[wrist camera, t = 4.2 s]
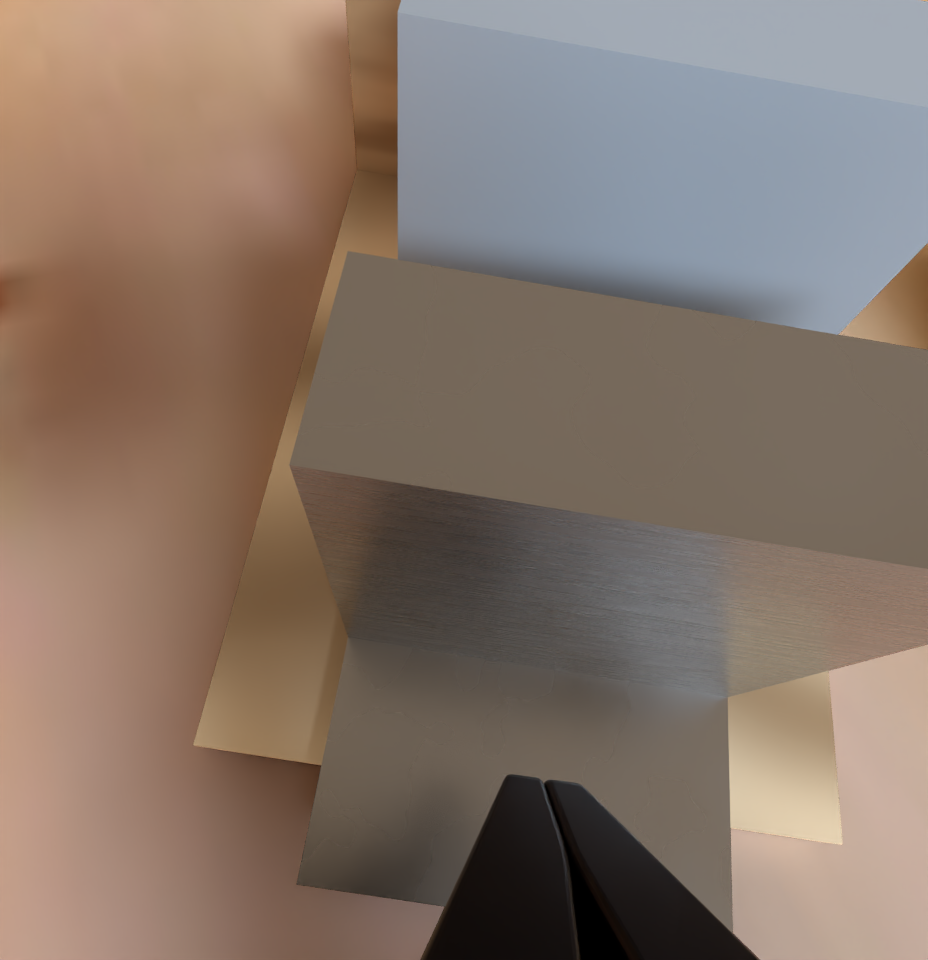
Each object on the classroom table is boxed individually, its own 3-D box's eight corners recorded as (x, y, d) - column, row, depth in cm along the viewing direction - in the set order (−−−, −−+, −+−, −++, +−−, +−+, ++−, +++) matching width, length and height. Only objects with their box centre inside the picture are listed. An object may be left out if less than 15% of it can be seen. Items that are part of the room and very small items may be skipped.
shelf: (818, 841, 17) (1079, 877, 10) (204, 747, 16) (79, 723, 10) (775, 227, 25) (905, 36, 19) (368, 156, 25) (358, -64, 18)
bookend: (720, 943, 15) (1261, 1209, 5) (300, 880, 14) (128, 1046, 5) (714, 581, 18) (1044, 370, 9) (373, 526, 18) (347, 250, 9)
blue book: (710, 465, 19) (1040, 128, 9) (398, 413, 19) (397, 12, 9) (709, 391, 21) (1006, 15, 10) (413, 341, 20) (427, -90, 10)
